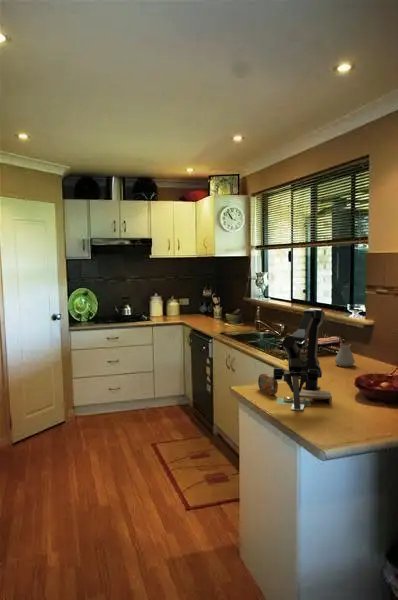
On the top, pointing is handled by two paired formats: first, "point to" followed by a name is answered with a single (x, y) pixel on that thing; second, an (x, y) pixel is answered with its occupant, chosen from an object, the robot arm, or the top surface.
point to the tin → (268, 384)
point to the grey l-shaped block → (297, 395)
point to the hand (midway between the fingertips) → (296, 392)
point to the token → (288, 399)
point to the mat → (281, 401)
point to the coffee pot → (344, 355)
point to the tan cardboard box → (317, 395)
